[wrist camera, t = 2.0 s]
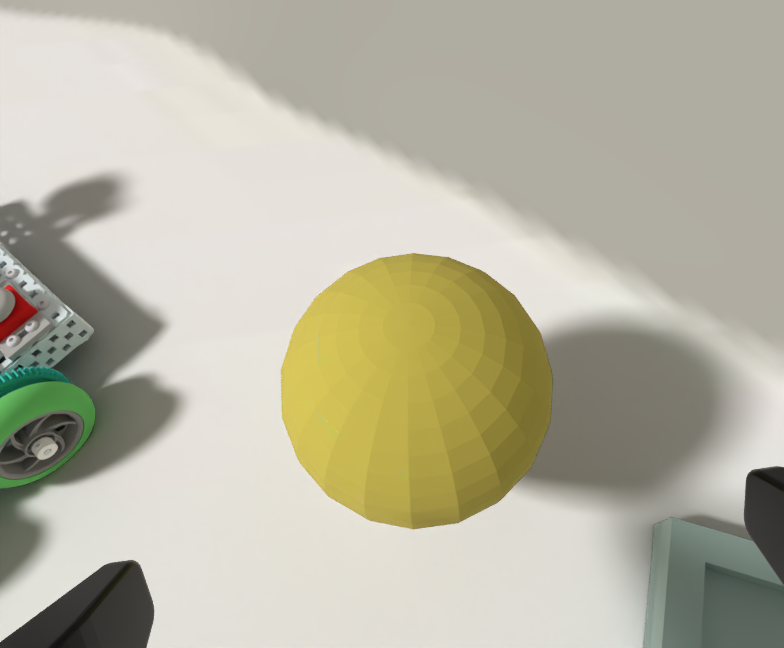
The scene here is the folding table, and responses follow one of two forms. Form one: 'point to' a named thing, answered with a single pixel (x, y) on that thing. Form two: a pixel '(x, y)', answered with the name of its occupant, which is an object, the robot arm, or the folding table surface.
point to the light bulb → (416, 391)
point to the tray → (711, 591)
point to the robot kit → (37, 378)
